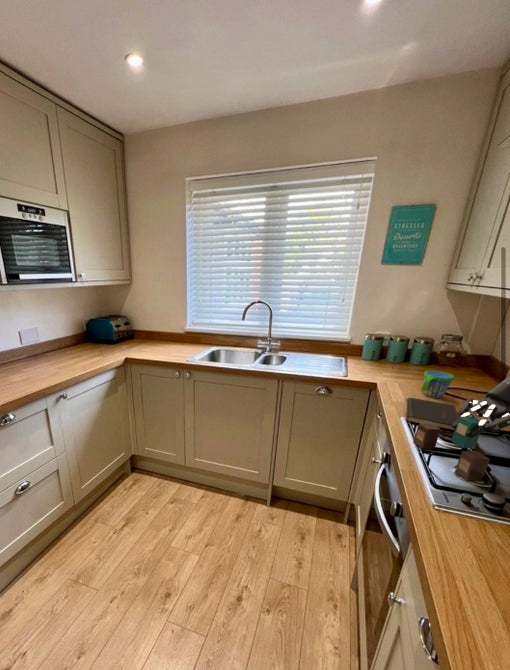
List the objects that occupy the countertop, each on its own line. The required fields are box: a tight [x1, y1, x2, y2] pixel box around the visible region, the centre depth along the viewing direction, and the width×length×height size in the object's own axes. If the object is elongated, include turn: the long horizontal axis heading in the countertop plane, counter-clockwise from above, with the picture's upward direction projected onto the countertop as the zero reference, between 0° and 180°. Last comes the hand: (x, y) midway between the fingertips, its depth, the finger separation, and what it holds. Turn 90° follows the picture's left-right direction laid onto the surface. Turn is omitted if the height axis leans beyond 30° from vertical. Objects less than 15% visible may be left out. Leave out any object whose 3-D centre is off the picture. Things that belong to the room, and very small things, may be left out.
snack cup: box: [421, 370, 455, 399], centre depth 145 cm, size 16×10×10 cm
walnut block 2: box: [454, 450, 491, 483], centre depth 85 cm, size 4×4×8 cm
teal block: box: [450, 416, 481, 449], centre depth 94 cm, size 4×4×8 cm
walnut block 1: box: [412, 423, 442, 450], centre depth 100 cm, size 4×4×8 cm
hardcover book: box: [406, 397, 460, 430], centre depth 125 cm, size 16×23×2 cm
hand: (461, 432), depth 94 cm, fingers closed on teal block, 4 cm apart
